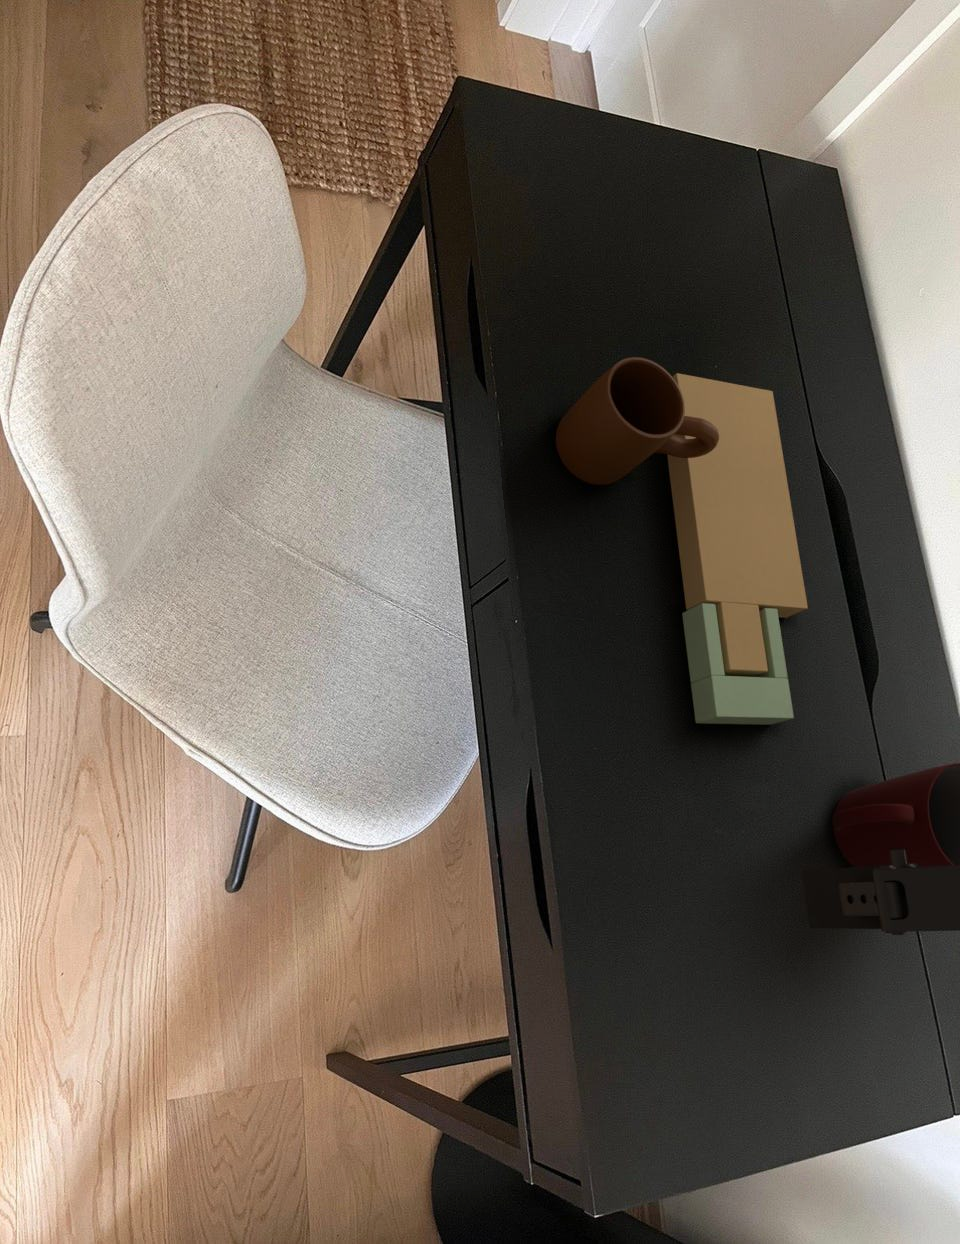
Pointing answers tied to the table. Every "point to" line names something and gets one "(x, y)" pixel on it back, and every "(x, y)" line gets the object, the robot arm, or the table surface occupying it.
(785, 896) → the table surface
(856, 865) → the mug
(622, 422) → the mug
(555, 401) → the table surface
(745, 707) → the green block
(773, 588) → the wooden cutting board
